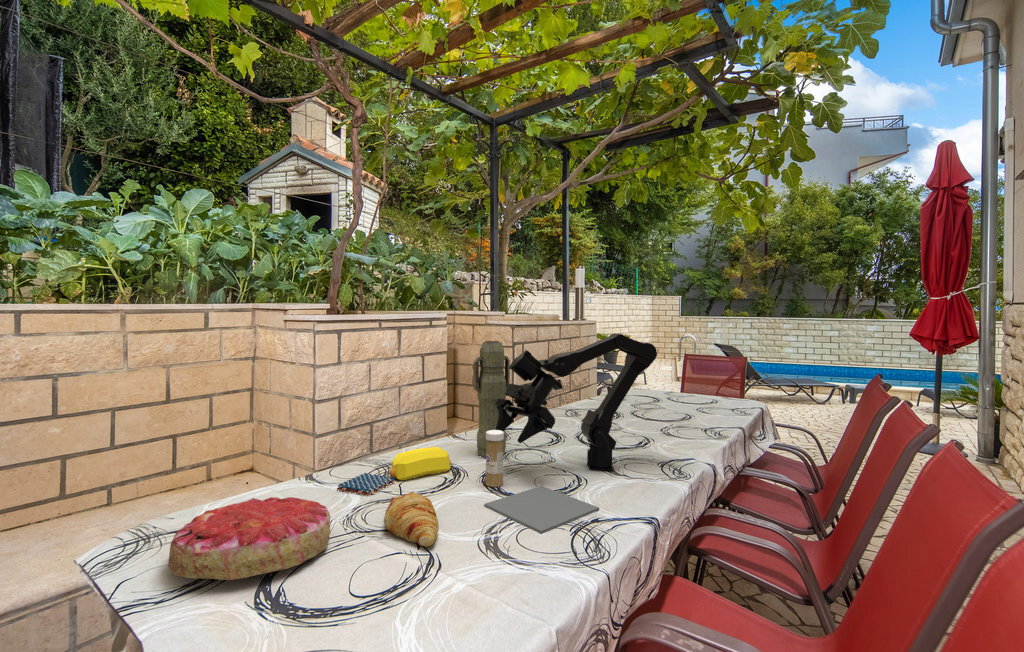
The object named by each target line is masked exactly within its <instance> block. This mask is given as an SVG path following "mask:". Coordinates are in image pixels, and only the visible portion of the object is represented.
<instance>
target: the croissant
mask: <svg viewBox="0 0 1024 652" xmlns="http://www.w3.org/2000/svg"><path fill="white" fill-rule="evenodd" d="M383 523H384V525H385V528H386V529H387V530H388V531H389V532H390V533H391V534H392V535H394V536H396V537H398V538H400V539H405V541H408V542H412V543H417V545H419V546H422V547H430V546H431V545H433V544H434V543H435V541H436V539H437V537H438V533H439V528H440V527H439V520H438V517H437V513H436V510H435V507H434V505H433V503H432V501H431V500H430V499H429V498H428V497H426V496H425V495H422V494H420V493H416V492H414V491H413V492H408V493H405V494H403V495H401V496H395V497H391V499H390V503H389V504H388V506H387V508H386V510H385V514H384V517H383Z"/></svg>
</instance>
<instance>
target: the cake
mask: <svg viewBox="0 0 1024 652" xmlns="http://www.w3.org/2000/svg"><path fill="white" fill-rule="evenodd" d="M330 533H331V513H330V511H329V509H328V508H327V506H326V505H323V504H321V503H320V502H318V501H315V500H308V499H303V498H297V497H293V496H290V497H284V498H279V497H276V496H275V497H269V498H266V499H262V500H261V499H257V498H255V497H252V498H250V499H248V500H246V501H242V502H237V503H231V504H229V505H226V506H221V507H218V508H214V509H210V510H209V509H208V510H206V511H204V512H203V513H201V514H200V515H196V516H194V518H193V519H192V520H191V521H190V522H188V523H186V524H184V526H183V527H181V528H180V529H178V530H177V531H176V532H175V534H174V535H173V539H172V540H171V542H170V547H169V553H168V554H169V556H168V569H169V570H170V571H171V573H172V574H173V575H174V576H177V577H181V578H187V579H212V580H222V581H223V580H225V581H226V580H227V581H232V580H241V579H246V578H249V577H253V576H258V575H263V574H268V573H273V572H276V571H283V570H288V569H291V568H293V567H296V566H298V565H300V564H303V562H305V561H307V560H310V559H311V558H315V557H316V556H317V555H319V554H320V553H321V552H323V551H325V550H326V549H327V547H328V544H329V541H330Z"/></svg>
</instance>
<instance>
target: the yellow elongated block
mask: <svg viewBox="0 0 1024 652" xmlns="http://www.w3.org/2000/svg"><path fill="white" fill-rule="evenodd" d="M451 465H452V460H451V459H450V454H449V453H448V452H447V451H446V450H445V449H443V448H441V447H439V446H433V447H432V446H431V447H422V448H421V447H420V448H415V449H411V450H407V451H404V452H403V451H402V452H399V453H397V454H396V455H395V457H393V459H392V462H391V469H390V470H389V472H388V473H389V474H388V475H389V477H392V479H393V478H394V479H398V480H400V481H402V480H405V481H408V480H407V479H409V480H412V479H411V478H413V479H415V478H414V477H416V478H419V476H420V477H423V476H428V474H429V475H434V474H433V473H437V474H440V473H439V472H443V473H446V472H448V471H450V469H451V468H452V466H451ZM445 471H446V472H445Z"/></svg>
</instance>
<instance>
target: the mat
mask: <svg viewBox="0 0 1024 652" xmlns="http://www.w3.org/2000/svg"><path fill="white" fill-rule="evenodd" d="M483 506H484V508H487V509H489V510H492V511H494V512H495V513H498V514H500V515H502V516H504V517H506V518H508V519H510V520H512V521H514V522H516V523H518V524H521V525H523V526H525V527H527V528H529V529H531V530H533V531H535V532H537V533H539V534H543V533H546V532H548V531H551V530H554V529H555V528H559V527H560V526H563V525H565V524H568V523H571V522H573V521H576V520H578V519H580V517H581V518H583V517H585V516H588V515H589V514H592V513H595V512H597V511H600V506H596V505H594V504H591V503H588V502H586V501H584V500H581V499H578V498H575V497H573V496H570V495H567V494H565V493H562V492H559V491H556V490H553V489H551V488H548V487H545V486H543V485H540V486H537V487H533V488H530V489H527V490H524V491H521V492H520V491H519V492H518V493H514V494H511V495H509V496H508V495H507V496H505V497H502V498H498V499H494V500H492V501H490V502H486V503H484V504H483ZM575 519H576V520H575ZM570 521H571V522H570Z"/></svg>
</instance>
